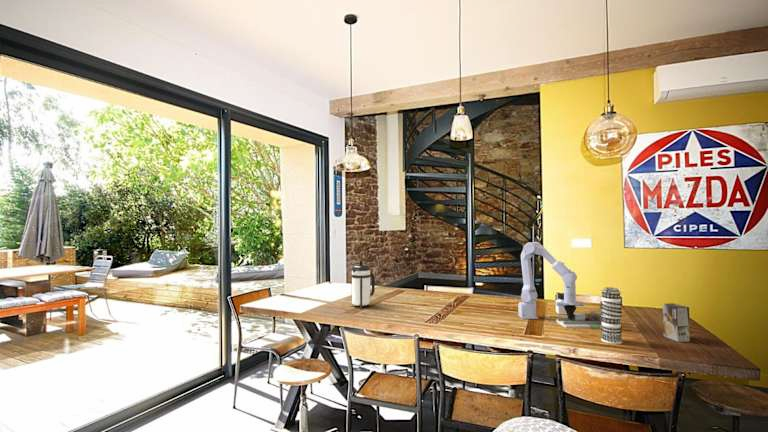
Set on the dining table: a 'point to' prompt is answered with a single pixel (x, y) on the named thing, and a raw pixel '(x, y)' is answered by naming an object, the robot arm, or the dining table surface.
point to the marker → (589, 317)
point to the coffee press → (362, 284)
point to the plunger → (578, 317)
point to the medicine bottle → (560, 308)
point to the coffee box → (676, 322)
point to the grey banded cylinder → (611, 316)
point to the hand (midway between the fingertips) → (569, 319)
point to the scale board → (581, 322)
